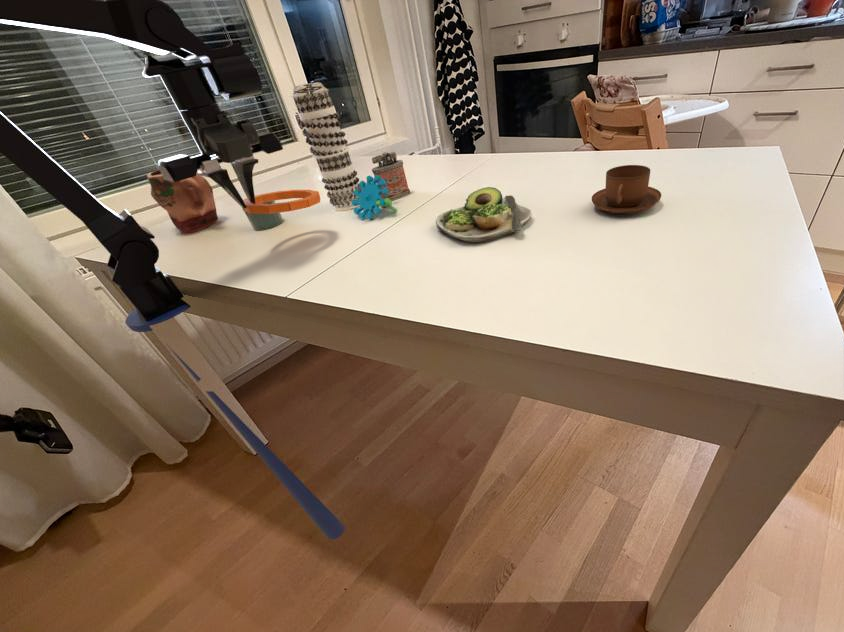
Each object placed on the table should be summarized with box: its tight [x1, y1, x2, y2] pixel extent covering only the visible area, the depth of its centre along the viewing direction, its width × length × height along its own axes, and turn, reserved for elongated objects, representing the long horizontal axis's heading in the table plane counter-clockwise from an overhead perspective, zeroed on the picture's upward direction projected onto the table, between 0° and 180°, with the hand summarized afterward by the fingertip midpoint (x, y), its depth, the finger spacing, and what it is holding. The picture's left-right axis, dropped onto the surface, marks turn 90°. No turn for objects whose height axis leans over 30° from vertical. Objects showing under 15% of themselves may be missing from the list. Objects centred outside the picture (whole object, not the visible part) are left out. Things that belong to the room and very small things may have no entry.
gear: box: [352, 175, 398, 220], centre depth 89 cm, size 11×6×10 cm
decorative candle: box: [291, 81, 361, 212], centre depth 90 cm, size 9×9×25 cm
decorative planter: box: [146, 168, 219, 233], centre depth 98 cm, size 20×12×14 cm, turn 64°
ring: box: [241, 189, 321, 214], centre depth 76 cm, size 14×14×1 cm
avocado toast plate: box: [435, 186, 532, 243], centre depth 74 cm, size 19×18×5 cm
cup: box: [243, 200, 284, 231], centre depth 93 cm, size 7×7×6 cm
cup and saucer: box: [591, 164, 662, 214], centre depth 71 cm, size 12×12×6 cm
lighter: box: [371, 151, 411, 202], centre depth 94 cm, size 8×3×10 cm, turn 130°
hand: (249, 206), depth 72 cm, fingers closed on ring, 1 cm apart
